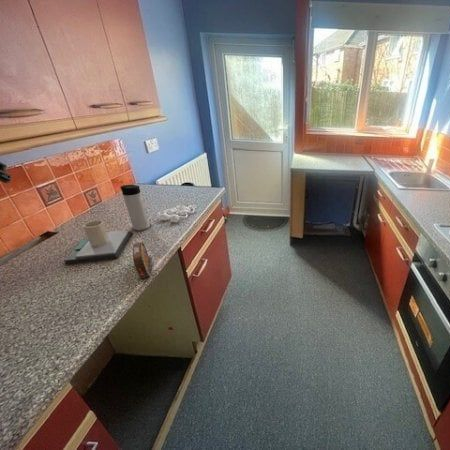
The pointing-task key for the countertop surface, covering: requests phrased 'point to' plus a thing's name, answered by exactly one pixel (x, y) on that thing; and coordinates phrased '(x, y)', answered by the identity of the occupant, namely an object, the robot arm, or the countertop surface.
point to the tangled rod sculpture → (174, 217)
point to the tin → (141, 259)
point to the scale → (99, 249)
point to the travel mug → (135, 207)
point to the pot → (96, 233)
